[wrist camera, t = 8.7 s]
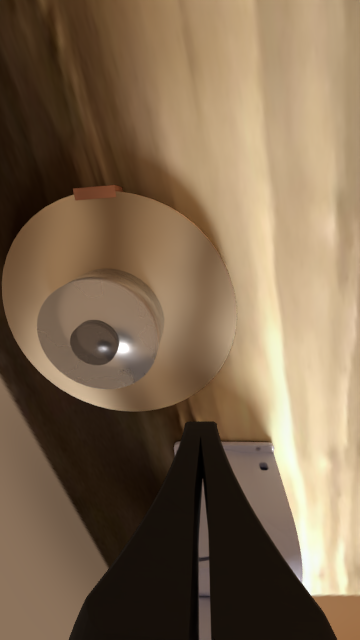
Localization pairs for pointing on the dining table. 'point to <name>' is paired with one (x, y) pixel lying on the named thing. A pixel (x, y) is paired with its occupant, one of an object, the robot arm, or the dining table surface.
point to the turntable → (139, 260)
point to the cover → (102, 328)
